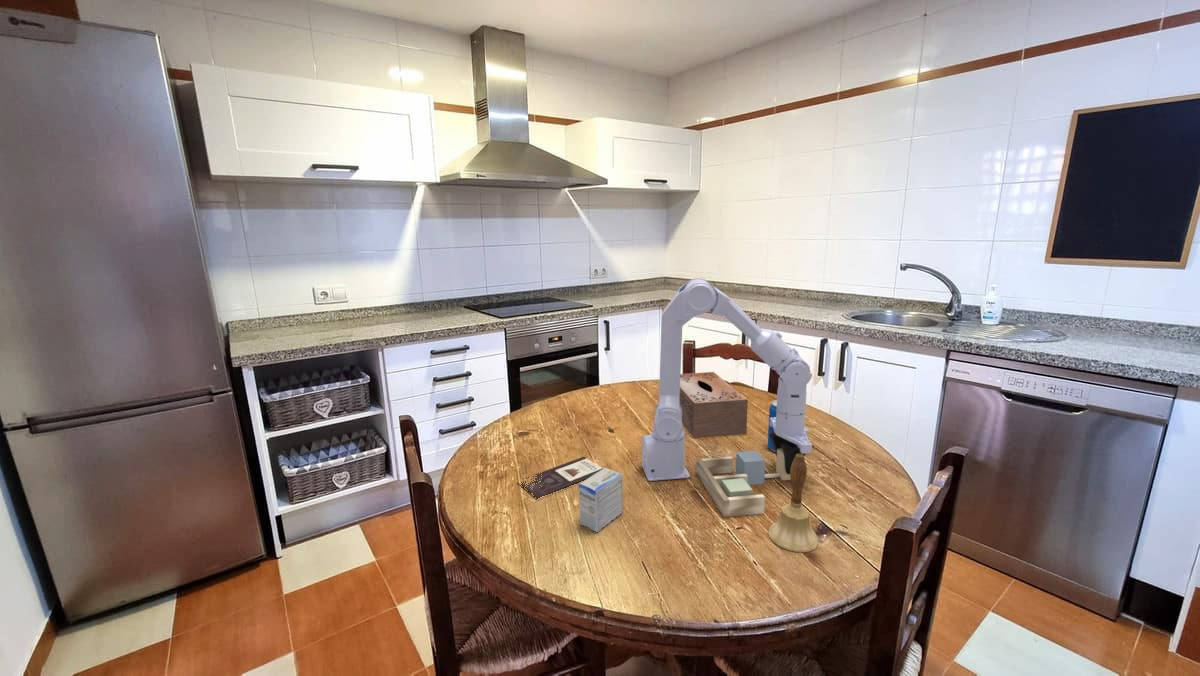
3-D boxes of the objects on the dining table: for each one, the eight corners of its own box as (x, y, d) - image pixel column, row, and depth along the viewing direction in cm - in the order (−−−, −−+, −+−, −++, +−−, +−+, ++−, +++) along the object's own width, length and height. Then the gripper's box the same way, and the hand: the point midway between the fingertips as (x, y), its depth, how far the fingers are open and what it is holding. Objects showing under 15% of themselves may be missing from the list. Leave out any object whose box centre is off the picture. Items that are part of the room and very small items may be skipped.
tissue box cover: (668, 405, 149) (668, 374, 147) (712, 401, 151) (713, 371, 149) (694, 439, 124) (694, 403, 122) (746, 434, 126) (747, 399, 124)
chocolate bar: (517, 481, 104) (583, 456, 115) (517, 485, 105) (583, 460, 115) (537, 498, 97) (606, 470, 108) (537, 502, 98) (606, 474, 108)
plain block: (729, 510, 92) (730, 491, 91) (721, 497, 96) (721, 480, 95) (751, 508, 92) (752, 489, 92) (742, 495, 97) (743, 478, 96)
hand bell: (825, 535, 83) (832, 452, 80) (809, 559, 77) (815, 471, 74) (778, 517, 89) (783, 439, 85) (760, 539, 83) (764, 456, 79)
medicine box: (605, 506, 95) (604, 466, 93) (623, 513, 92) (622, 473, 90) (579, 525, 89) (577, 483, 87) (598, 534, 86) (596, 491, 84)
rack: (723, 517, 90) (724, 500, 89) (696, 473, 106) (696, 459, 105) (764, 513, 90) (765, 497, 90) (730, 470, 107) (731, 456, 106)
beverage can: (798, 456, 112) (801, 409, 110) (769, 454, 114) (771, 407, 111) (792, 444, 119) (795, 399, 116) (765, 443, 120) (768, 398, 117)
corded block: (743, 485, 100) (744, 459, 99) (735, 475, 105) (736, 450, 103) (797, 481, 101) (799, 455, 100) (787, 470, 106) (788, 446, 105)
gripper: (828, 422, 94) (823, 484, 96) (791, 398, 108) (788, 452, 111) (794, 425, 93) (790, 487, 96) (761, 400, 107) (759, 455, 110)
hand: (787, 469), depth 103 cm, fingers closed on corded block, 3 cm apart
